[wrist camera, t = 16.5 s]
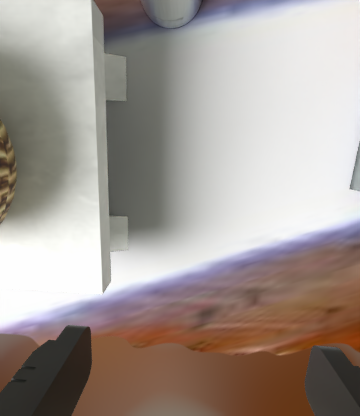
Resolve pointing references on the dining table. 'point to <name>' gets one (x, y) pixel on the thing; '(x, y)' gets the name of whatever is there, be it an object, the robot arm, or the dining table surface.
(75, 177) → the table with woven basket
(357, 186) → the tray
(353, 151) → the dining table surface
